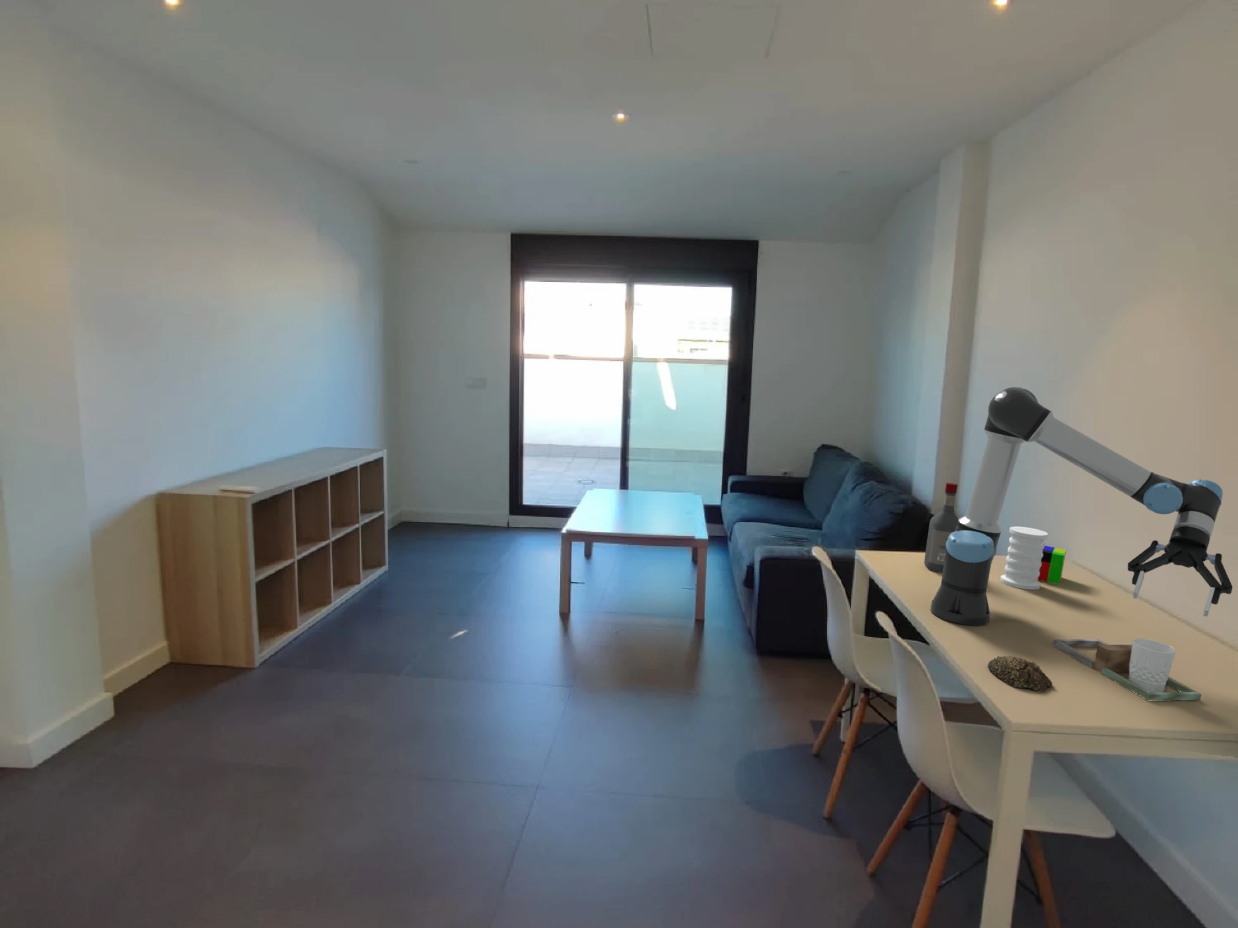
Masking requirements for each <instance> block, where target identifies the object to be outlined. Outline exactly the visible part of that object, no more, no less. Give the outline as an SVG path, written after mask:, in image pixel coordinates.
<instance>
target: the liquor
mask: <svg viewBox="0 0 1238 928" xmlns="http://www.w3.org/2000/svg"><path fill="white" fill-rule="evenodd" d="M958 486H959V485H958V483H955V482H946V484H945V488H944V497H943V498H944V499H943V505H942V507H941V510H940V511H939V512H938V513H936V514H935V515H933V516H932V517H931V518H930V520H929V525H928V534H927V540H926V546H925V547H926V548H925V554H924V560H923V561H924V562H923V563H924V565H925V566H924V567H926V569H927V570H928V571H931V572H935V573H942V574H943V567H944V561H945V554H946V542H947V540H948V537H949V535H950V534H951V533H953V532H955V530H956V527H957V523H958V520H959V519H960V518H958V516H957V514H956V513H955V503H956V495H957V493H958Z"/></svg>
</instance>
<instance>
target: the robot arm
mask: <svg viewBox="0 0 1238 928" xmlns="http://www.w3.org/2000/svg"><path fill="white" fill-rule="evenodd" d="M987 408H988V411H987V413H988V415H987V418H986V421H985V425H984V428H983V431H984V433H985V434H986V435H987V439H986V443H985V447H984V450H983V452H982V453H983V454H982V457H981V460H980V463H979V467H978V471H977V475H976V477H975V481H974V485H973V489H972V493H971V495H970V498H969V503H968V506H967V509H966V513H965V515H963V516H962V517H960V518H958V519H959V520H958V523H957V527H956V530H955V532H953V533H951V534H950V535H949V537H948V540H947V542H946V554H945V561H944V567H943V573H942V575H941V581H940V586H939V588H938V590H937V591H936V594H935V596H934V597H933V599H932V600H931V602H930V603H931V604H930V612H931V613H932V614H933V615H934V616H936V617H937V618H940V619H942V620H944V621H947V622H951V623H954V624H959V625H965V626H975V627H976V626H979V627H980V626H985V625H988V624H989V622H990V619H991V611H990V606H989V602H988V597H987V590H988V587H989V586H988V585H989V580H990V579H989V578H990V573H991V567H992V563H993V559H994V558H995V556H996V553H997V548H998V544H999V540H1000V537H1001V534H1002V529H1001V528H1000V526H999V524H998V523H999V520H1000V517H1001V513H1002V510H1003V507H1004V506H1003V505H1004V503H1005V500H1006V496H1007V492H1008V489H1009V486H1010V484H1011V483H1010V482H1011V479H1012V476H1013V473H1014V470H1015V467H1016V462H1017V459H1018V456H1019V452H1020V450H1021V446H1022V444H1023V443H1025V442H1026V443H1034V442H1035V443H1036V444H1038V445H1040V446H1042V447H1044V448H1045V449H1046V450H1049V451H1050V452H1052V453H1054V454H1055V455H1057V456H1059V457H1060V458H1062V459H1065V460H1066V461H1068V462H1070V463H1071V464H1073V465H1074V466H1077V467H1078V468H1079V469H1082V470H1083V471H1084V472H1087V473H1088V474H1089V475H1092V476H1094V477H1096V478H1097V479H1099V480H1101V481H1102V482H1104V483H1105V484H1107V485H1110V486H1111V487H1112V488H1114V489H1116V490H1118V491H1119V492H1122V493H1123V494H1125V495H1126V496H1129V497H1130V498H1131V499H1132V500H1135V501H1136V502H1138V503H1140V504H1142V505H1143V506H1145V507H1146V508H1147V510H1149V511H1151V512H1152V513H1155V514H1158V515H1170V514H1172V513H1175V512H1177V516H1176V517H1175V518H1176V519H1175V522H1174V524H1173V528H1172V532H1171V533H1170V538H1169V540H1168V542H1167V544H1163V543H1159V541H1158V540H1157V539H1156V540H1152V542H1151V544H1150V545H1149V547H1147V548H1146V549H1145V550H1143V551H1142V552H1141V553H1139V554H1138V555H1137V556H1135V557H1134V558H1132V559H1131V560H1129V561H1128V563H1127V570H1128V572H1132V573H1133V575H1132V578H1131V583H1132V585H1134V586H1135V587H1134V589H1133V592H1132V593H1133V595H1132V597H1133V599H1136V600H1137V599H1138V598H1139V593H1140V591H1141V588H1142V585H1143V582H1144V579H1145V574H1147V573H1149V572H1151V571H1153V570H1155V569H1157V568H1161V567H1162V566H1166V565H1169V564H1171V563H1172V564H1173V565H1175V566H1181V567H1182V566H1183V567H1184V568H1188V569H1190V568H1194V570H1195V571H1196V573H1199V575H1200V576H1201V577H1202V579H1203V581H1205V582H1206V584H1207V585H1208V586H1209V588H1210V589H1209V592H1208V596H1207V597H1206V598H1207V599H1206V602H1205V606H1204V608H1203V609H1204V610H1203V617H1209V612H1210V609H1211V605H1212V604H1213V605H1218V604H1219V602H1220V601H1219V600H1220V597H1221V595H1222V594H1226V595H1231V594H1232V593H1233V585H1232V582H1231V580H1230V578H1229V575H1228V574H1227V571H1226V569H1225V566H1224V564H1223V562H1222V559H1223V555H1222V554H1221V553H1215V554H1209V553H1208V552H1207V551H1208V547H1209V544H1210V541H1211V538H1212V534H1213V530H1214V527H1215V522H1216V519H1217V516H1218V513H1219V511H1220V507H1221V505H1222V500H1223V492H1224V491H1223V489H1222V487H1221V486H1220V485H1219V484H1218V483H1216V482H1214V481H1212V480H1209V479H1204V480H1203V479H1198V478H1197V479H1194V480H1191V481H1190V482H1188V483H1185V482H1182V481H1178V480H1176V479H1172V478H1169V477H1166V476H1163V475H1160V474H1158V473H1155V472H1153V471H1149V470H1147V468H1144V467H1143V466H1141V465H1139V464H1137V463H1135V462H1134V461H1132V460H1130V459H1128V458H1126V457H1125V456H1123V455H1122V454H1120V453H1118V452H1116V451H1114V450H1112V449H1110V448H1109V447H1108V446H1105V445H1104V444H1102V443H1100V442H1098V441H1096V440H1095V439H1093V438H1091V437H1089V436H1087V435H1086V434H1084V433H1082V432H1080V431H1079V430H1077V429H1075V428H1073V427H1072V426H1070V425H1068V424H1066V423H1064V422H1063V421H1061V420H1059V419H1057V418H1056V417H1054V414H1053V411H1052V410H1050V409H1049V408H1047V407H1045V406H1043V405H1042V404H1040V403H1039V401H1038V399H1037V397H1036V395H1034V394H1033V392H1032V391H1030V390H1028V389H1026V388H1023V387H1017V386H1013V387H1007V388H1004V389H1002V390H1000V391H998V392H997V393H995V395H994V396H993V397H992V399H991V400H990V402H989V404H988V407H987ZM1161 551H1164V553H1162V554H1161V555H1160V556H1158V557H1155V558H1153V559H1150V558H1152V557H1153V556H1154V555H1155V554H1156V553H1159V552H1161ZM1149 559H1150V560H1149ZM1207 560H1208V561H1209V562H1210V564H1211V565H1213V566H1214V570H1215V572H1216V575H1217V577H1218V580H1219V581H1220V582H1219V581H1218V580H1217V578H1216V577H1215V576H1214V575H1213V573H1212V572H1211V571H1210V569H1208V567H1207V566H1206V564H1205V562H1206V561H1207Z"/></svg>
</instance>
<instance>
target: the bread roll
mask: <svg viewBox="0 0 1238 928" xmlns="http://www.w3.org/2000/svg"><path fill="white" fill-rule="evenodd" d="M987 668H988V670H989V673H991V674H992V675H993V676H994V677H995V678H997V679H999V680H1001V681H1002V682H1004V683H1005V684H1007V685H1008V686H1011V687H1013V688H1017V689H1018V688H1019V689H1029V690H1030V689H1031V690H1033V691H1034V690H1035V691H1034V692H1037V691H1040V692H1039V693H1045V692H1047V691H1048V689H1050V688H1052V687H1053V682H1052V681H1051V679H1050V678H1049V677H1048V676H1047V675H1046V673H1045V672H1044V671H1043V670H1042V669H1041V667H1040V665H1038V664H1037V663H1036V662H1035V661H1029V660H1026V659H1024V658H1021V657H1016V656H1014V655H1009V656H1008V655H1007V656H1006V655H1004V656H999V655H997V656H996V657H994V658H993V659H991V660H989V662H988V663H987ZM1046 690H1047V691H1046ZM1044 691H1045V692H1044Z"/></svg>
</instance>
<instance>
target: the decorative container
mask: <svg viewBox="0 0 1238 928" xmlns="http://www.w3.org/2000/svg"><path fill="white" fill-rule="evenodd" d="M1009 533H1010V534H1011V535H1010V537H1009V538H1008V539H1009V541H1008V542H1009V546H1008V548H1007V556H1006V557H1005V561H1006V564H1005V566H1004V571H1005V572H1004V574H1002V575H1000V578H999V579H1000V582H1001V583H1003V584H1005V585H1006V586H1010V587H1012V586H1013V587H1012V588H1017V589H1022V590H1028V591H1031V590H1032V591H1033V590H1034V591H1036V590H1039V589H1040V588H1041V585H1042V584H1041V582H1040V581H1039V580H1038V577H1039V575H1040V572H1039V569H1040V567H1041V558H1042V557H1043V553H1042V552H1043V549H1044V547H1045V546H1046V545H1045V544H1046V543H1045V541H1046V539H1048V536H1049V533H1048V532H1046V531H1044V530H1042V529H1039V528H1038V529H1037V528H1033V527H1027V526H1026V527H1025V526H1010V527H1009Z"/></svg>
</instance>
